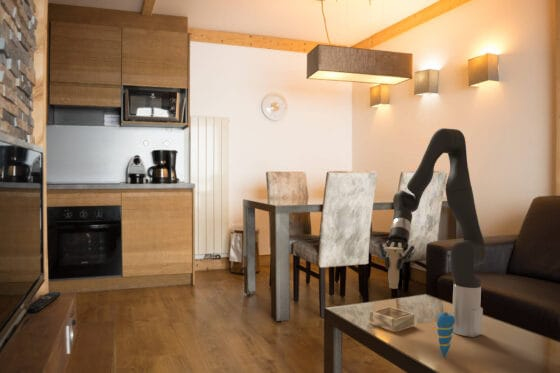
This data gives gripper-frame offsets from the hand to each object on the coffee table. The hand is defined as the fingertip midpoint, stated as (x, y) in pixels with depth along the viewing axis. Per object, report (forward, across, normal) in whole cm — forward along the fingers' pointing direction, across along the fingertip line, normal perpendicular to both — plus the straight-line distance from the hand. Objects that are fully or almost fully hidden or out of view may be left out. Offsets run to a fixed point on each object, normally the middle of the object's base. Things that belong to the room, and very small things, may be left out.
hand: (392, 268), depth 171 cm
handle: (+4, 0, +7) cm, 8 cm away
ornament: (+31, +21, +1) cm, 37 cm away
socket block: (+14, 0, +16) cm, 22 cm away
